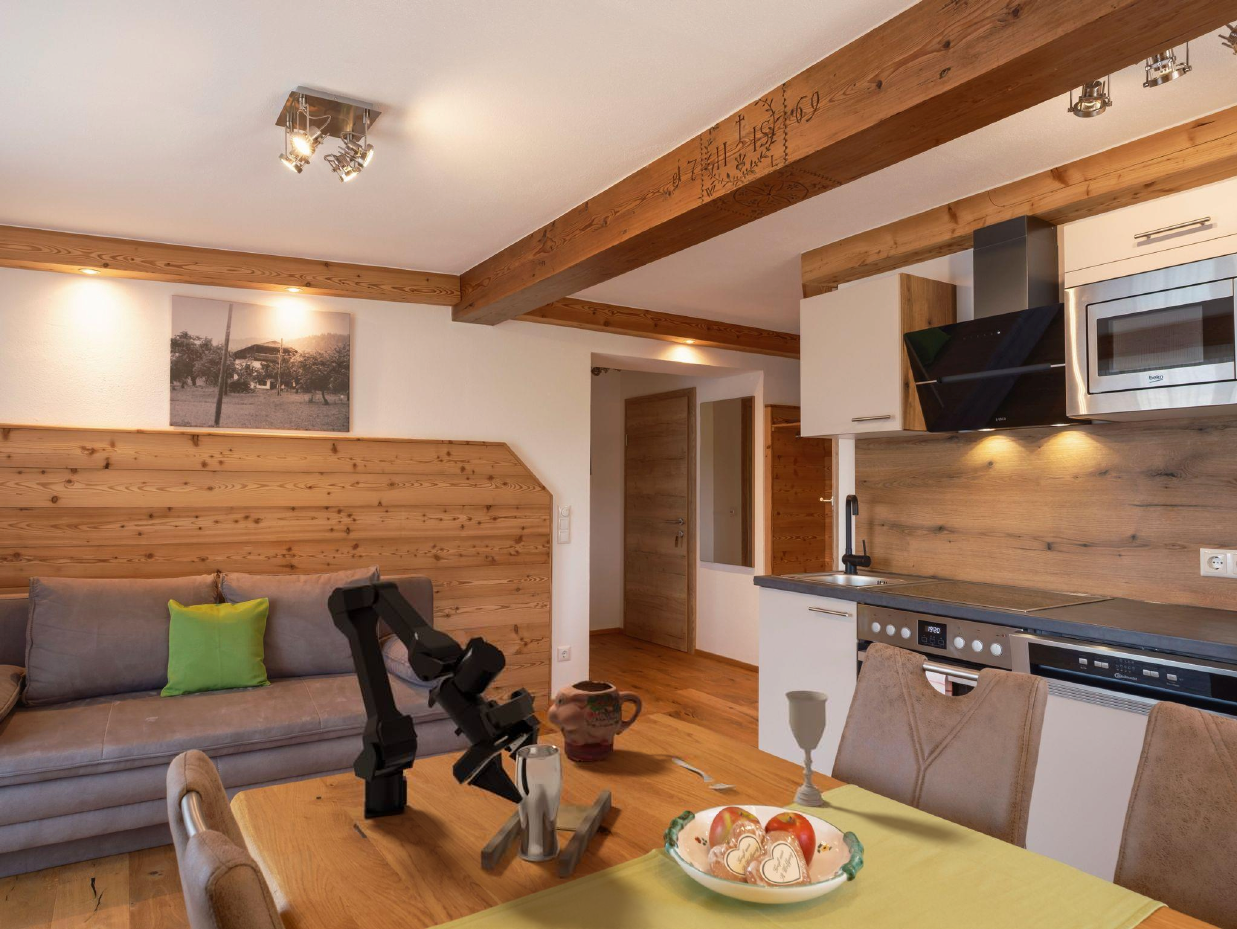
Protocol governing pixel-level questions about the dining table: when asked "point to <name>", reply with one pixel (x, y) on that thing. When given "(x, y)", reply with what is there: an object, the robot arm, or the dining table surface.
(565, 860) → the channel
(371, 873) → the dining table surface
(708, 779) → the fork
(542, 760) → the beer glass
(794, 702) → the chalice
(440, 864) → the dining table surface
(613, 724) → the sculpted ceramic mug
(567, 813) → the tan square coaster
